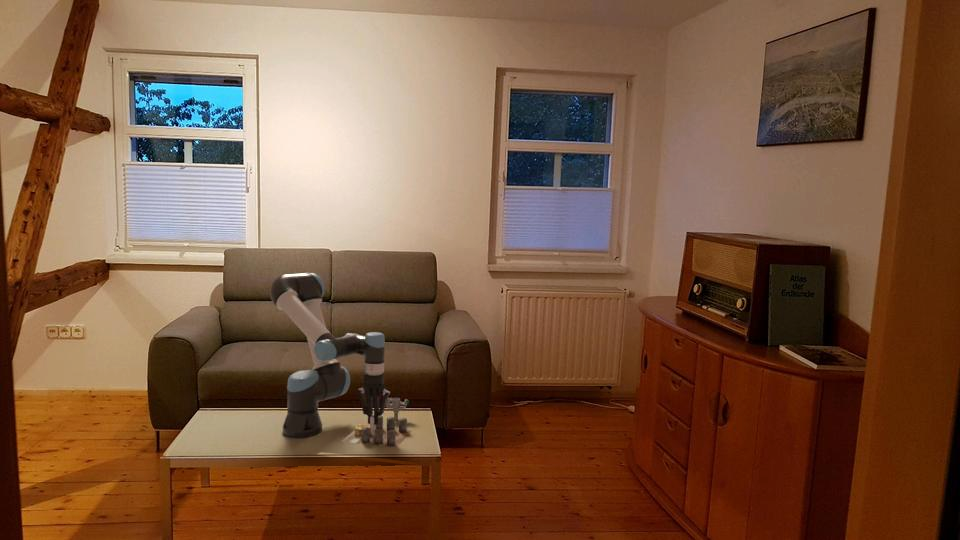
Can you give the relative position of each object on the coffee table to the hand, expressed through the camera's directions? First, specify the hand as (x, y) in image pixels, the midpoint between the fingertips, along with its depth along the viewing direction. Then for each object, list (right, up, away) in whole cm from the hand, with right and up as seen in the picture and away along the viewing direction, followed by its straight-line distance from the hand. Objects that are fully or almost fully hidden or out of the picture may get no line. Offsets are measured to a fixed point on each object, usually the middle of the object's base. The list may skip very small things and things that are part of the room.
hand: (372, 432), depth 237 cm
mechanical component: (+6, -1, +19) cm, 20 cm away
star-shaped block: (-4, -1, +1) cm, 4 cm away
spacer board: (+2, -2, 0) cm, 3 cm away
